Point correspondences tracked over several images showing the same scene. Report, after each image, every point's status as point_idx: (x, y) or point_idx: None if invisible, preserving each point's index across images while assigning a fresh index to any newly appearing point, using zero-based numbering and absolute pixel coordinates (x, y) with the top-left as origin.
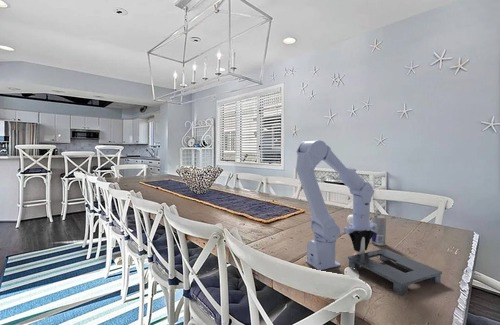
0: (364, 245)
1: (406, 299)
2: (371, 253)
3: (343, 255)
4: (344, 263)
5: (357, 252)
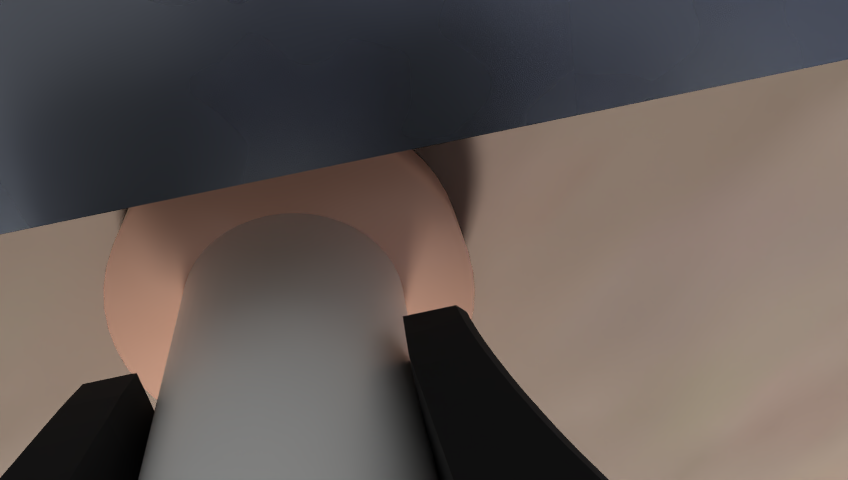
0: (199, 468)
1: None
2: (85, 69)
3: None
4: (842, 99)
5: None
